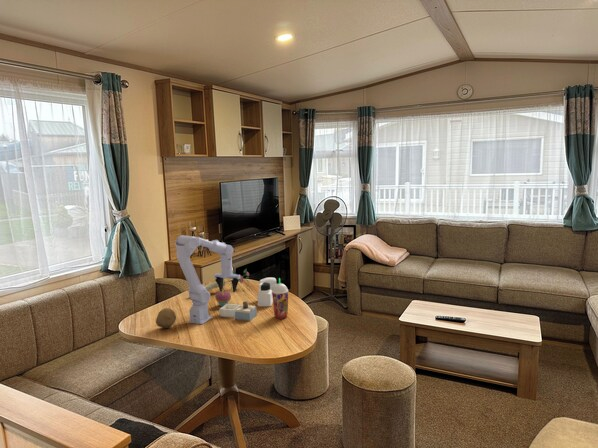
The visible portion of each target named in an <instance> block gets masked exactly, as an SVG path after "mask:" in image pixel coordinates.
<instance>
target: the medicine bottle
mask: <svg viewBox="0 0 598 448" xmlns="http://www.w3.org/2000/svg"><path fill="white" fill-rule="evenodd" d="M256 295H257V296H256V297H257V307H271V306H272V304H273V298H272V290H270V283H267V282H263V283H260V284H259V283H258V292H257V294H256Z"/></svg>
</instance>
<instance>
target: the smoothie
mask: <svg viewBox="0 0 598 448" xmlns="http://www.w3.org/2000/svg"><path fill="white" fill-rule="evenodd" d="M272 298H273V303H272V304H273V313H274V316H275V318H276V319H278V320H280V319H286V318H287V317H288V315H289V289H288V287H287V286H286V285H285V284H284V283H282V282H281V278H280V277H279V278H278V283H276V285H275V286H274V287H273V289H272Z"/></svg>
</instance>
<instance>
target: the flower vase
mask: <svg viewBox="0 0 598 448" xmlns="http://www.w3.org/2000/svg"><path fill="white" fill-rule="evenodd" d="M243 273H245V274H243V275H240V279H239V282H238V283H239V284H243V283H244V281H245V280H246V281H247V282H248V284H249V283H250V282H249V276H250V272H248V271H247V268H245V269H244V270H243ZM233 274H237V273H236V271H235V270H233ZM245 276H246V277H245ZM244 277H245V279H244ZM231 280H232V279H231V278H229V280H228V281H226V280H225V278H224V279H223V287H224V286H226V284H228V285H229V286H230V289H231V290H233V286H232V282H231ZM203 286H204V287H205V288H206V290H207V291H208V292H209V291H211V290H213V289H216V288H219V286H218V284H217V282H216V281H213V282H211V283H209V284H206V285H203Z"/></svg>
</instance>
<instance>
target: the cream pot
mask: <svg viewBox="0 0 598 448" xmlns="http://www.w3.org/2000/svg"><path fill="white" fill-rule="evenodd" d="M240 306H242V304H234V303H228V304H226V305H224V306H221V307H219V311H218V312H219V317H223V318H230V319H231V318H232V319H234V318H235V312H236V309H238V308H239V307H240Z"/></svg>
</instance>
